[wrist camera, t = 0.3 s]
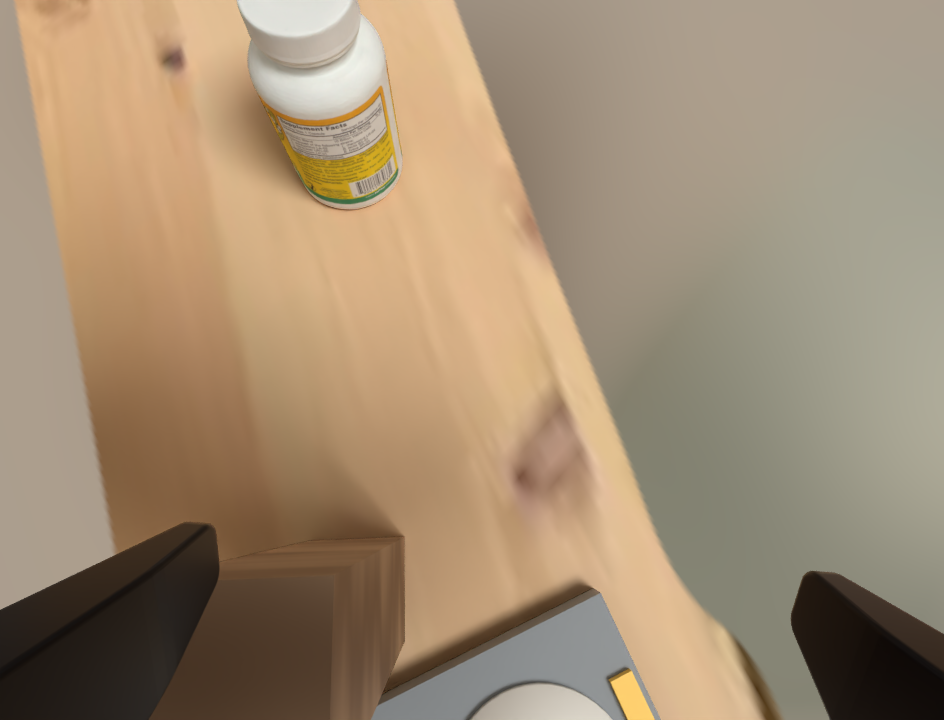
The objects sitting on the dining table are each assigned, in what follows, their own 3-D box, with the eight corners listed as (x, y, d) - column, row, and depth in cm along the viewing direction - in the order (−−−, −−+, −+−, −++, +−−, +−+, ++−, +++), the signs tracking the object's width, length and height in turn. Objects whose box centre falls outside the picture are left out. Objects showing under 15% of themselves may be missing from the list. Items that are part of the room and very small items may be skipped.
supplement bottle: (391, 221, 26) (352, 66, 17) (287, 203, 26) (192, 40, 17) (413, 131, 28) (388, -57, 18) (315, 115, 28) (240, -79, 18)
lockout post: (404, 640, 21) (326, 823, 9) (304, 645, 21) (91, 836, 9) (404, 536, 22) (334, 575, 10) (309, 540, 22) (124, 584, 10)
